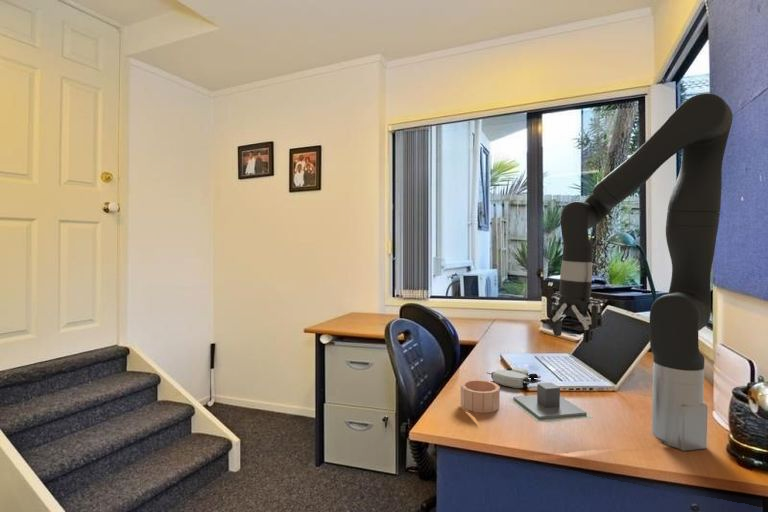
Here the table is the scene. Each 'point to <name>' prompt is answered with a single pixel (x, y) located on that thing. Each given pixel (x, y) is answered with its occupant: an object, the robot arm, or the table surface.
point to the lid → (549, 403)
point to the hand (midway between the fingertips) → (571, 339)
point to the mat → (546, 419)
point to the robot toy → (513, 377)
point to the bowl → (480, 396)
